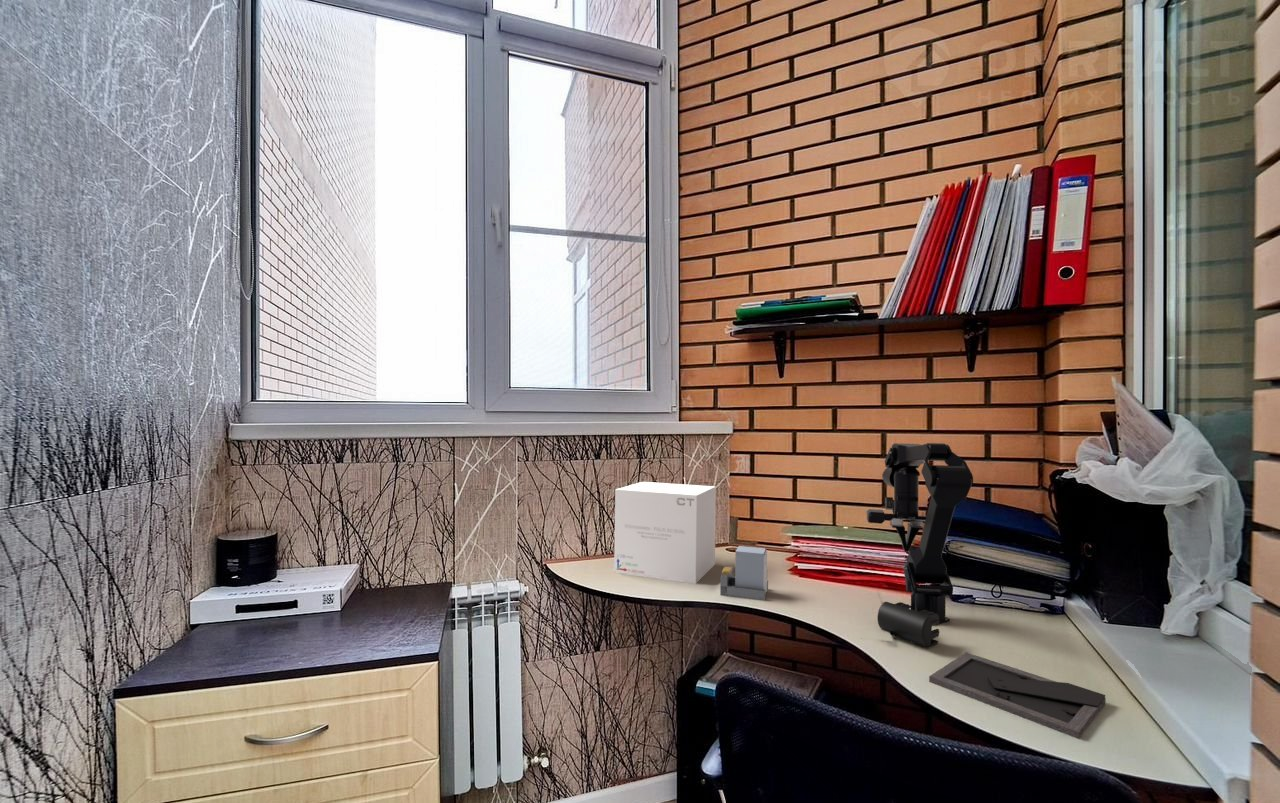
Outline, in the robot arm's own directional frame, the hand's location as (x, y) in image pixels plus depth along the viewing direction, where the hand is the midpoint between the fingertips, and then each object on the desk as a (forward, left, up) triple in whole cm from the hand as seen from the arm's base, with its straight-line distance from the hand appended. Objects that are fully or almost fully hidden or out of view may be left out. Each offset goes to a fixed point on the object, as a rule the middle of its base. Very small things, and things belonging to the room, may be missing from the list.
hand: (906, 551), depth 140 cm
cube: (+49, +44, -12) cm, 67 cm away
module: (+17, +37, -11) cm, 42 cm away
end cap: (-18, +23, -12) cm, 32 cm away
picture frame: (-40, +26, -13) cm, 50 cm away
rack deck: (+14, +33, -12) cm, 38 cm away
